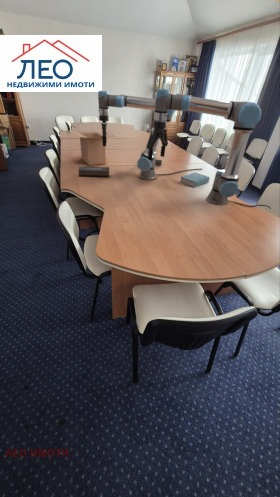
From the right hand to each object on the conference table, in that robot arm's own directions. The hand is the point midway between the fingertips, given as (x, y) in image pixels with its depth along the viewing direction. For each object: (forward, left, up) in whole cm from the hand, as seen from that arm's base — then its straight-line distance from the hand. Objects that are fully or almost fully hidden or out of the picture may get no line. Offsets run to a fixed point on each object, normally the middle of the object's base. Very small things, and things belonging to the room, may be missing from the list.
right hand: (156, 158), depth 144 cm
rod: (+45, -54, -31) cm, 77 cm away
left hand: (+35, -54, -4) cm, 65 cm away
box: (+49, -101, -31) cm, 116 cm away
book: (-46, -43, -31) cm, 70 cm away
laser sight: (-13, -95, -31) cm, 101 cm away
